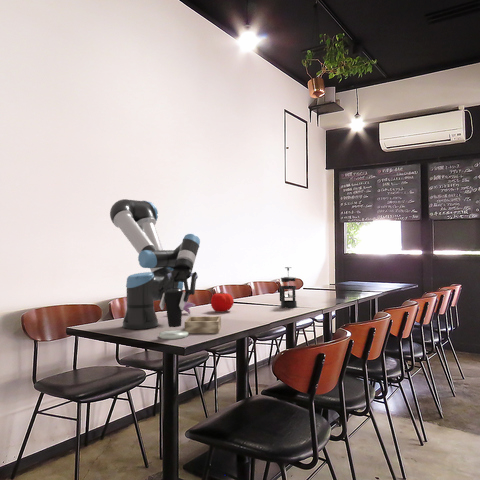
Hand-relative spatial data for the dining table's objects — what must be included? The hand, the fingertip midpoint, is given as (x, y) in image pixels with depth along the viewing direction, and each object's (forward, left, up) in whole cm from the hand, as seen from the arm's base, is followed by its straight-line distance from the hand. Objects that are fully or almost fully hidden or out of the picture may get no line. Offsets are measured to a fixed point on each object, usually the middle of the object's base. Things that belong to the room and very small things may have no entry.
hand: (171, 307), depth 156 cm
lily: (-6, +61, -12) cm, 63 cm away
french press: (+51, +85, -12) cm, 100 cm away
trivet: (0, +4, -12) cm, 12 cm away
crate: (+10, +16, -12) cm, 22 cm away
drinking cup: (+1, +3, -8) cm, 8 cm away
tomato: (+14, +69, -12) cm, 71 cm away
